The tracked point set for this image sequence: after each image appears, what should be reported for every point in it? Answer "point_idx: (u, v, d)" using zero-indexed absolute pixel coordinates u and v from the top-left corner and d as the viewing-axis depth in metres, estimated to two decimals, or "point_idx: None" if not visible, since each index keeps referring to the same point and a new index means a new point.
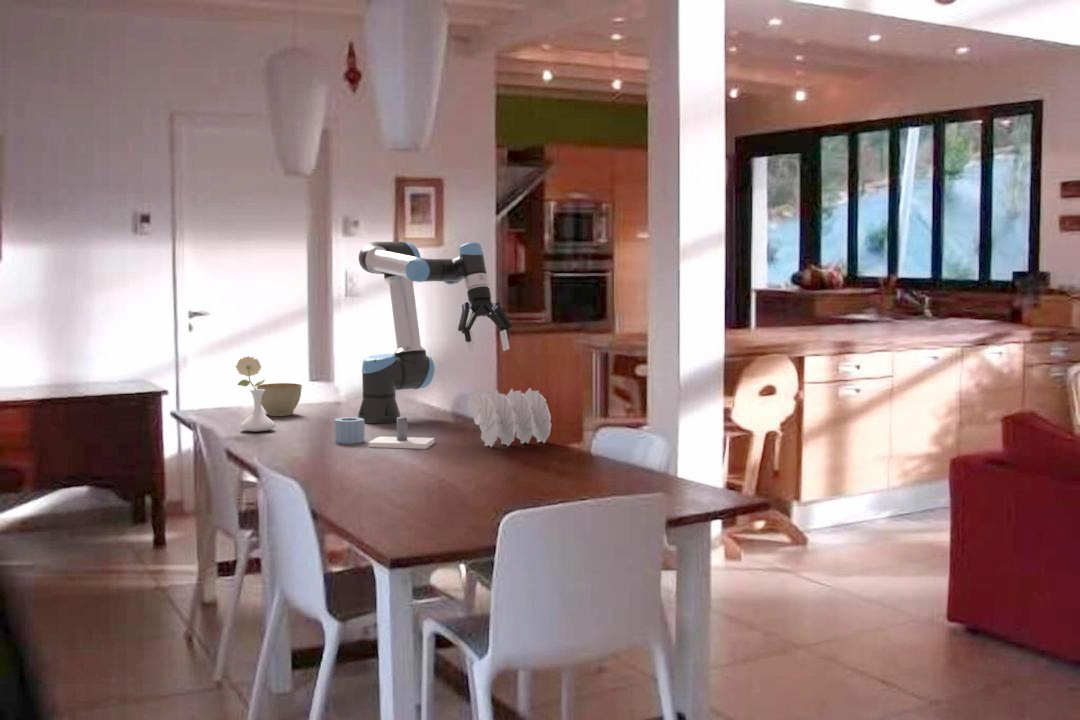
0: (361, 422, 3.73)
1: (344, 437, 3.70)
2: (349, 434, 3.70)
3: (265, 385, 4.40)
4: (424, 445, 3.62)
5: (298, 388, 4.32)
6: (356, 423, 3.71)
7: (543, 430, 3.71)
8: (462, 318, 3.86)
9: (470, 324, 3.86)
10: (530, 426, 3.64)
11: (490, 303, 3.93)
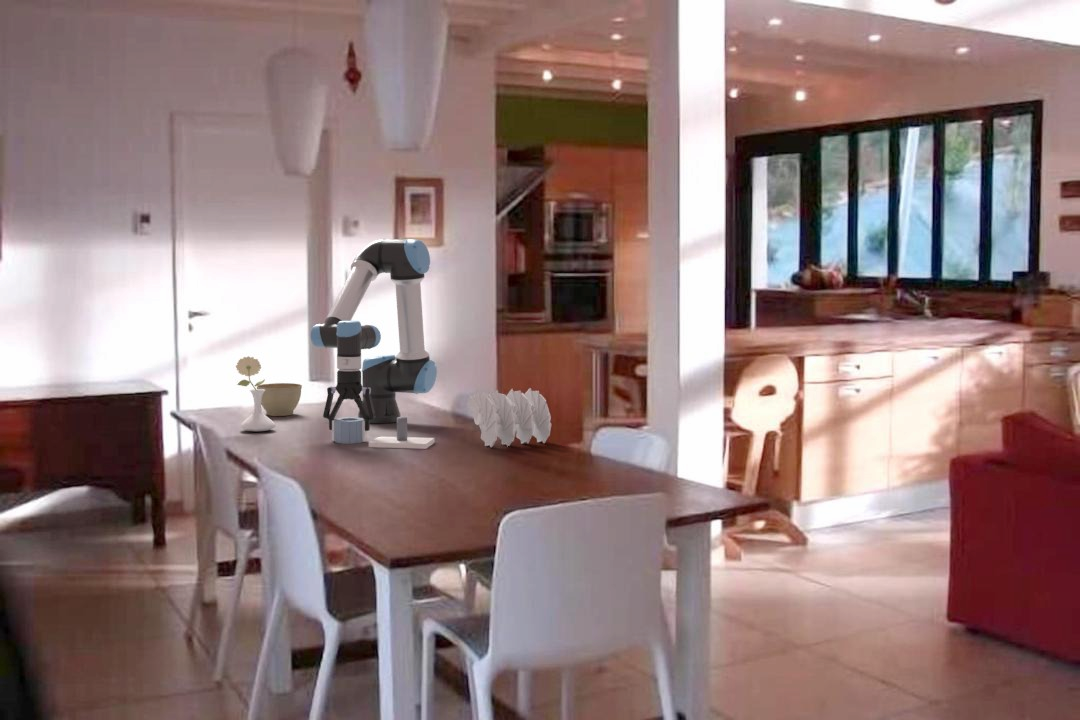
0: (361, 422, 3.73)
1: (344, 437, 3.70)
2: (349, 434, 3.70)
3: (265, 385, 4.40)
4: (424, 445, 3.62)
5: (298, 388, 4.32)
6: (356, 423, 3.71)
7: (543, 430, 3.71)
8: None
9: (332, 412, 3.74)
10: (530, 426, 3.64)
11: (357, 387, 3.72)
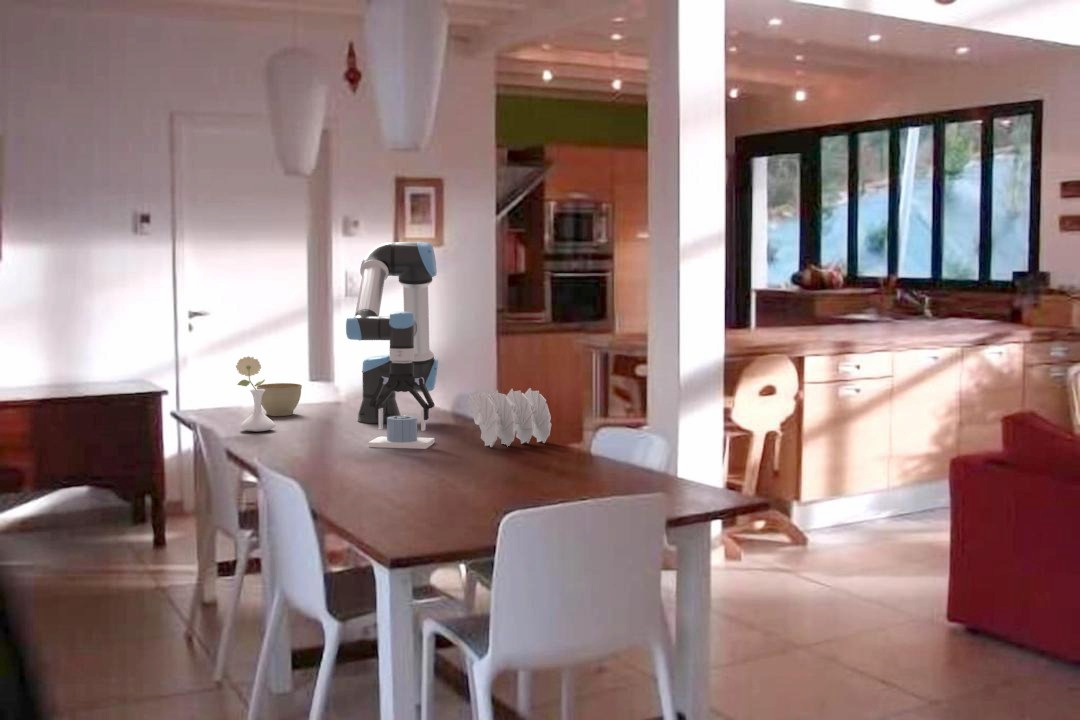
0: (414, 420, 3.66)
1: (397, 436, 3.64)
2: (403, 432, 3.64)
3: (265, 385, 4.40)
4: (424, 445, 3.62)
5: (298, 388, 4.32)
6: (409, 422, 3.65)
7: (543, 430, 3.71)
8: None
9: (380, 401, 3.67)
10: (530, 426, 3.64)
11: (410, 379, 3.66)
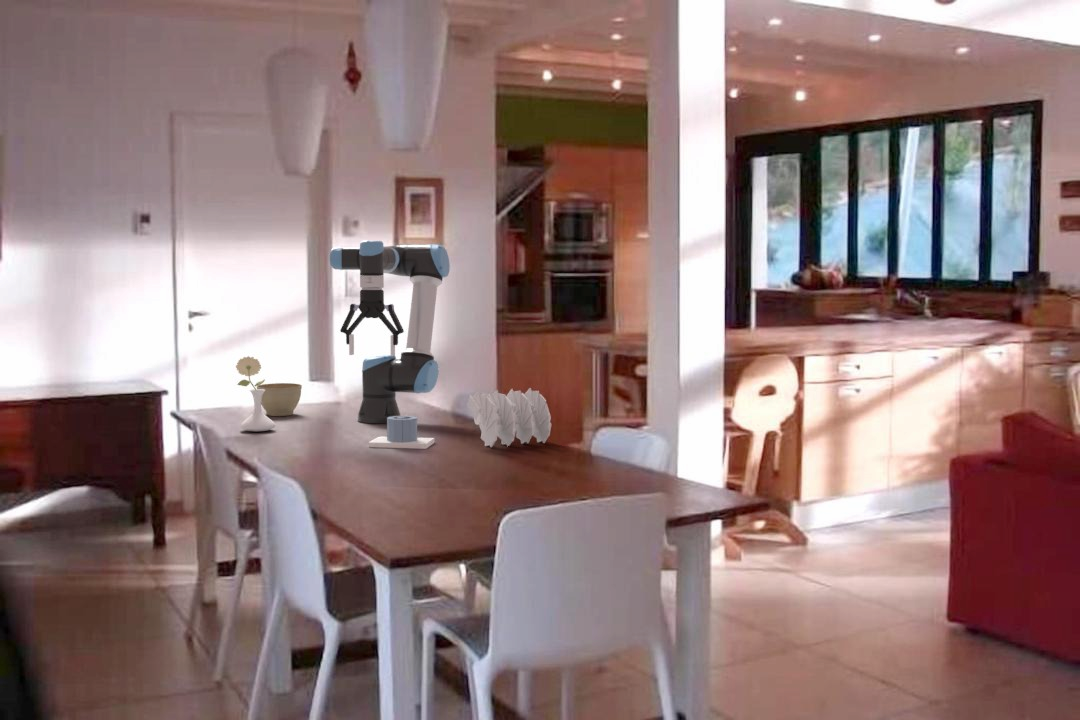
0: (414, 420, 3.66)
1: (397, 436, 3.64)
2: (403, 432, 3.64)
3: (265, 385, 4.40)
4: (424, 445, 3.62)
5: (298, 388, 4.32)
6: (409, 422, 3.65)
7: (543, 430, 3.71)
8: None
9: (351, 327, 3.80)
10: (530, 426, 3.64)
11: (380, 306, 3.78)
